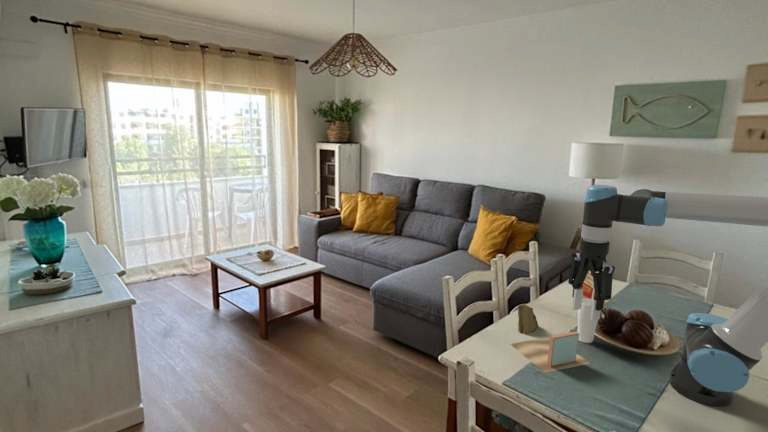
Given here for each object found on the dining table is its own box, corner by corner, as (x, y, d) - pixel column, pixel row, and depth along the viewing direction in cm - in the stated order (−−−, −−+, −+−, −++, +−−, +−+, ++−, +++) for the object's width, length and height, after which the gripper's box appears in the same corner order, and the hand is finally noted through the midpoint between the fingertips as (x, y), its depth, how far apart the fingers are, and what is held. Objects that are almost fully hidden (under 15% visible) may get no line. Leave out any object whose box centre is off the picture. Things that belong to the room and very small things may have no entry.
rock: (532, 314, 164) (509, 313, 162) (543, 304, 158) (520, 303, 155) (541, 340, 157) (517, 340, 155) (553, 330, 151) (529, 330, 148)
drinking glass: (573, 342, 148) (578, 303, 145) (575, 334, 154) (579, 296, 151) (594, 347, 145) (600, 307, 142) (595, 338, 151) (600, 300, 148)
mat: (590, 364, 134) (590, 363, 134) (544, 374, 129) (544, 372, 129) (552, 337, 151) (552, 336, 151) (509, 345, 145) (510, 343, 145)
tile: (575, 361, 135) (579, 333, 133) (550, 366, 132) (553, 338, 130) (572, 359, 136) (575, 331, 134) (547, 364, 133) (550, 335, 131)
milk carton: (573, 305, 178) (579, 261, 174) (588, 302, 182) (594, 259, 178) (591, 314, 170) (598, 268, 166) (607, 310, 174) (613, 265, 170)
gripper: (634, 248, 110) (622, 327, 115) (580, 230, 128) (571, 299, 133) (612, 250, 108) (601, 331, 113) (560, 231, 126) (552, 302, 131)
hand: (585, 313), depth 123 cm, fingers open, 6 cm apart
